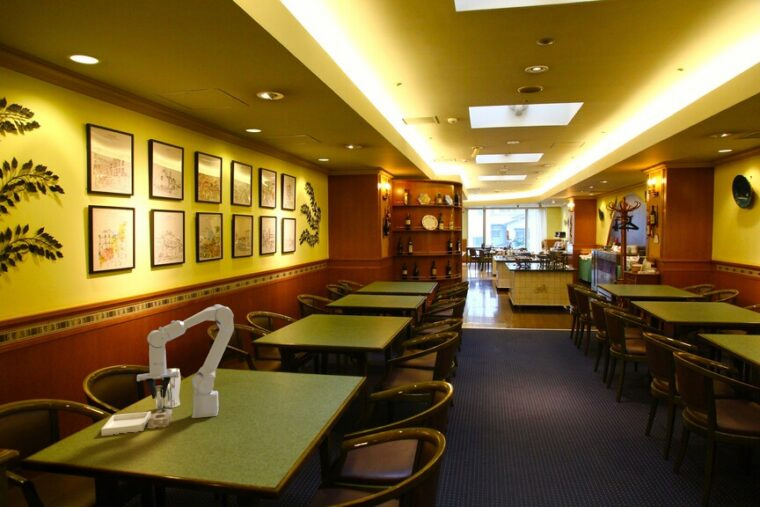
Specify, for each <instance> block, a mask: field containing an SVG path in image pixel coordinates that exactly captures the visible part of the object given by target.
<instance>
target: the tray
mask: <svg viewBox="0 0 760 507" xmlns="http://www.w3.org/2000/svg"><path fill="white" fill-rule="evenodd" d="M151 414H152V411H142V412H131V413H121V414H113V415H112V416H111V417H110V418H109V419H108V420H107V422H105V424H104V425H103V426H102V427H101V429H100V430H101V436H102V437H105V436H113V434H115V435H120V434H119V433H124V434H128V433H127V432H134V433H139V432H138V431H143V432H144V430H145V429H146V427H147V426H148V424H147V423H148V419H149V418H150V416H151ZM145 426H146V427H145ZM144 428H145V429H144Z"/></svg>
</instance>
